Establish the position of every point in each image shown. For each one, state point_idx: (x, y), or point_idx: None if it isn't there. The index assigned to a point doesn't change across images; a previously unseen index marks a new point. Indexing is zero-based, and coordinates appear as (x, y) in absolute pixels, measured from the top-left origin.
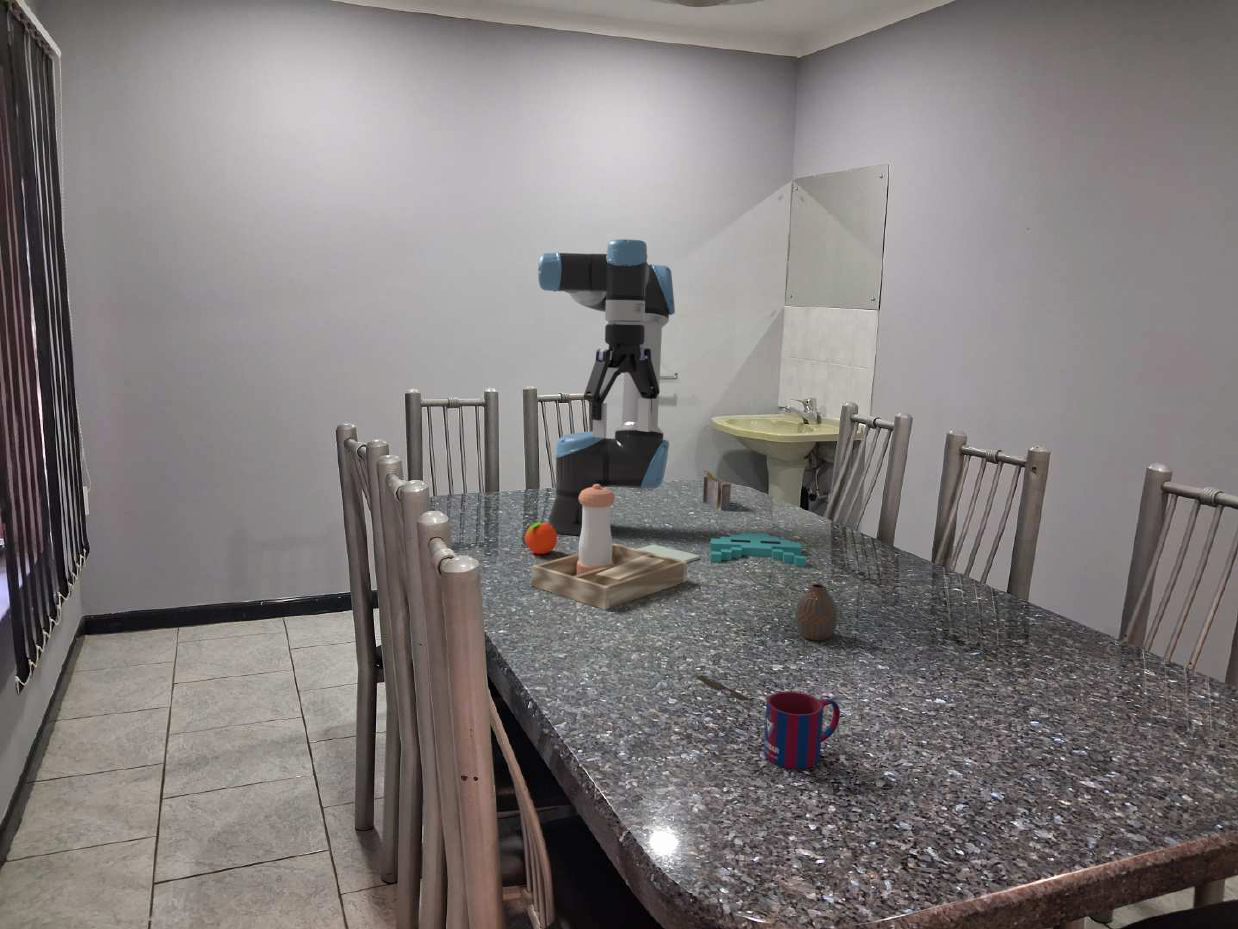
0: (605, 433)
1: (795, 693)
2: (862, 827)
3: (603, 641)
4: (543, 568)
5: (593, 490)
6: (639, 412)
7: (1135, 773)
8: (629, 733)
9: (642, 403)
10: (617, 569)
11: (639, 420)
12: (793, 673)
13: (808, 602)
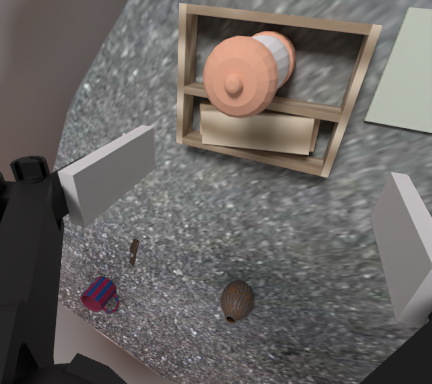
0: (146, 172)
1: (98, 303)
2: None
3: None
4: (182, 28)
5: (216, 87)
6: (404, 222)
7: (180, 371)
8: (68, 229)
9: (407, 269)
10: (233, 123)
11: (394, 202)
12: (176, 279)
13: (222, 305)
